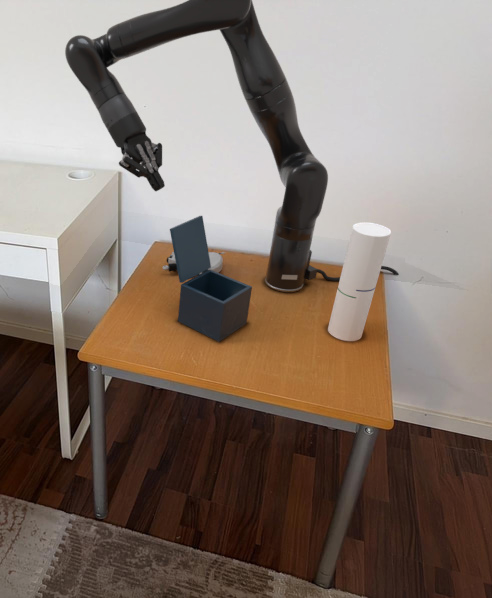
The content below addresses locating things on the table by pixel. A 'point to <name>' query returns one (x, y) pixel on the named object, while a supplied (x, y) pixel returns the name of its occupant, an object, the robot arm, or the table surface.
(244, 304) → the caddy
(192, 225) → the lid
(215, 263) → the robot toy
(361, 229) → the cylindrical container
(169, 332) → the table surface
